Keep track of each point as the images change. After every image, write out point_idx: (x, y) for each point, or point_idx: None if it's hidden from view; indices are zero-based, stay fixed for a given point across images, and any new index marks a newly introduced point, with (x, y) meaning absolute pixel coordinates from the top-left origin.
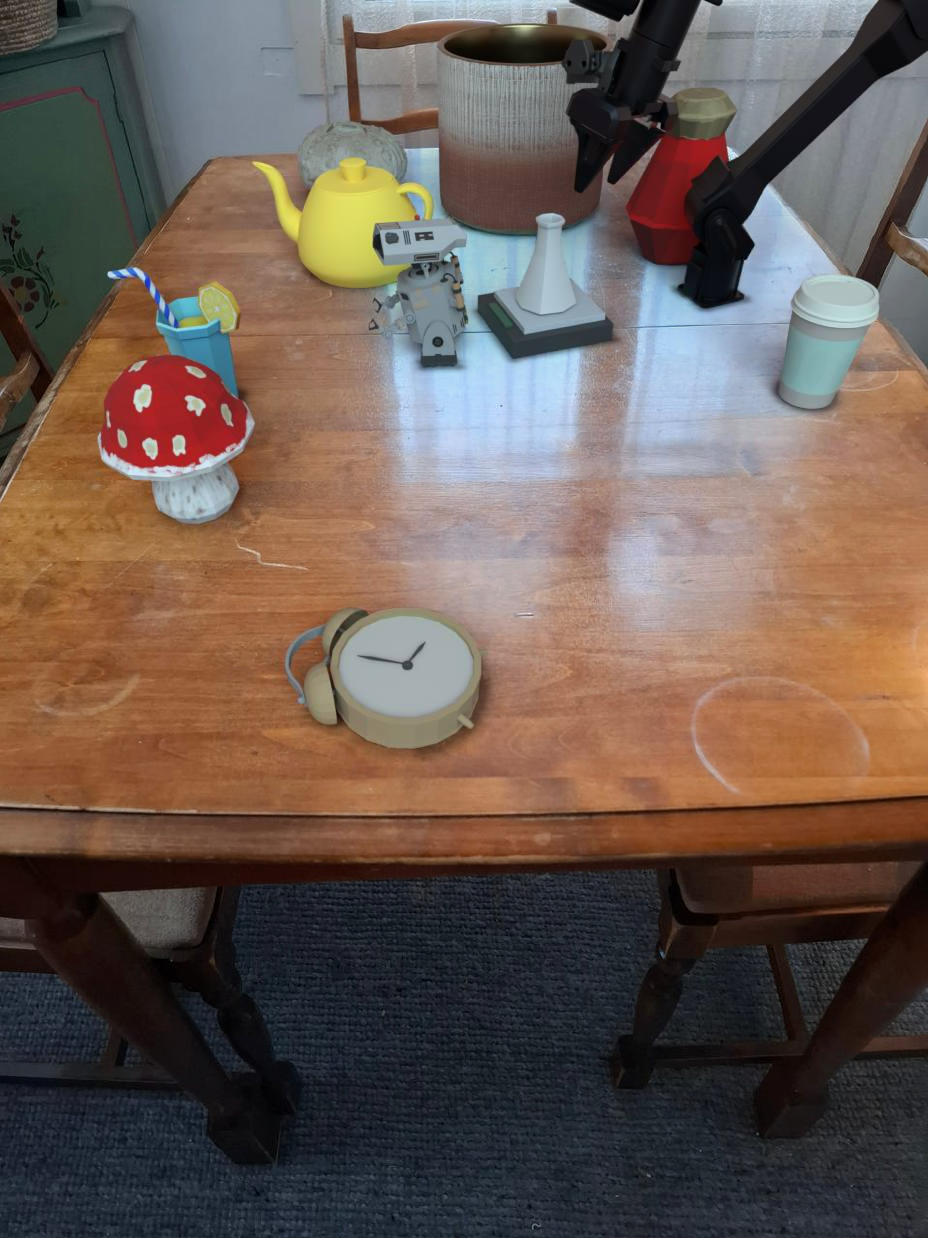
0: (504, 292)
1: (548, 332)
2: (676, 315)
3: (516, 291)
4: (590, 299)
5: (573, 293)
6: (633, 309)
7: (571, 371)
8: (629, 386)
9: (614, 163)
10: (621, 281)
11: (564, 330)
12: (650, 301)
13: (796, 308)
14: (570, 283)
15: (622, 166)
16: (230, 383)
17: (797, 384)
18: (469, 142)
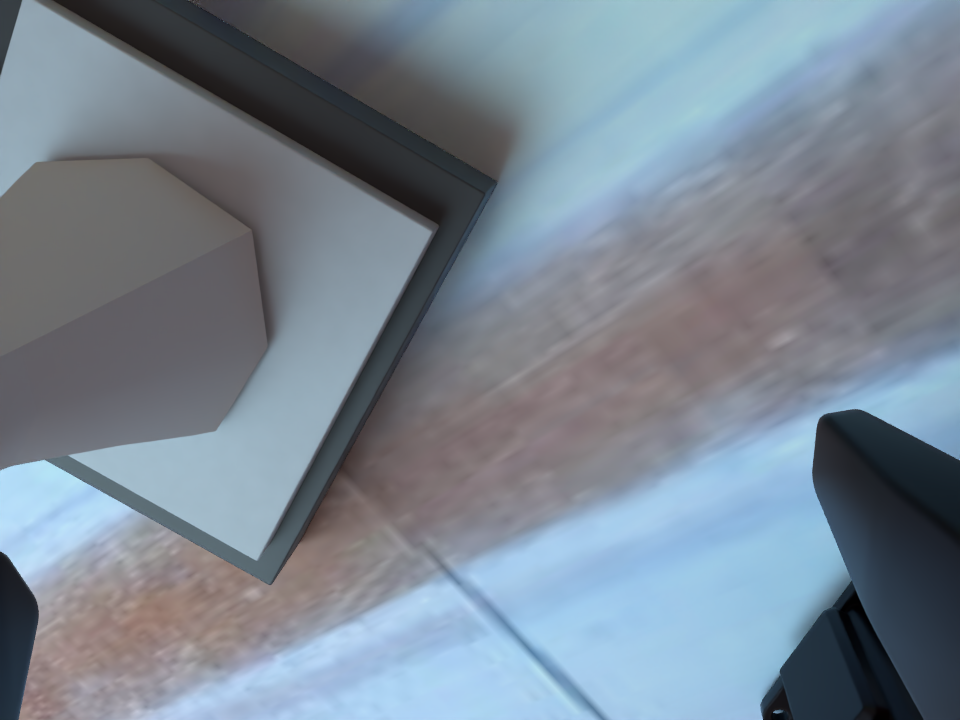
0: (54, 56)
1: None
2: (640, 643)
3: (108, 102)
4: (310, 447)
5: (182, 436)
6: (574, 489)
7: (39, 541)
8: (117, 715)
9: (936, 560)
10: (809, 299)
11: (84, 466)
12: (691, 510)
13: None
14: (145, 441)
15: (918, 663)
16: None
17: None
18: None
